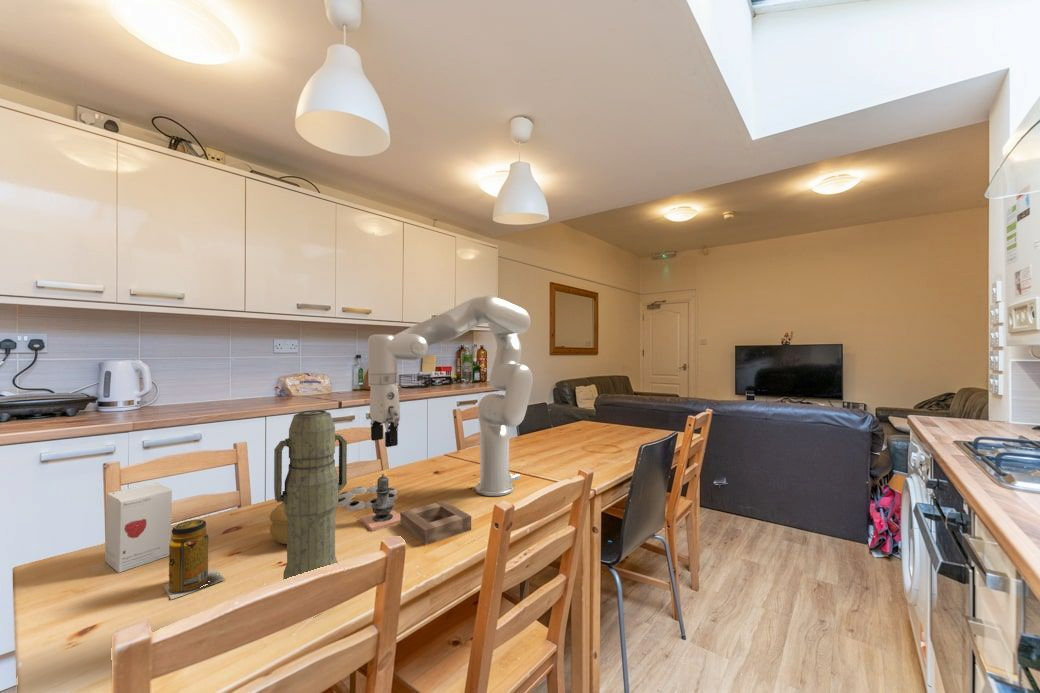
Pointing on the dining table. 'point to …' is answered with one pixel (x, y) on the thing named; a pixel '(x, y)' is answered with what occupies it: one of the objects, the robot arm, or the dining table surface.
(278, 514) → the pot
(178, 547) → the condiment
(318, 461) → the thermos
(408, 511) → the brown square wooden frame
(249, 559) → the dining table surface
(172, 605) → the dining table surface
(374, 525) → the terracotta tile
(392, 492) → the paint palette
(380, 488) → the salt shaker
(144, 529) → the supplement box
